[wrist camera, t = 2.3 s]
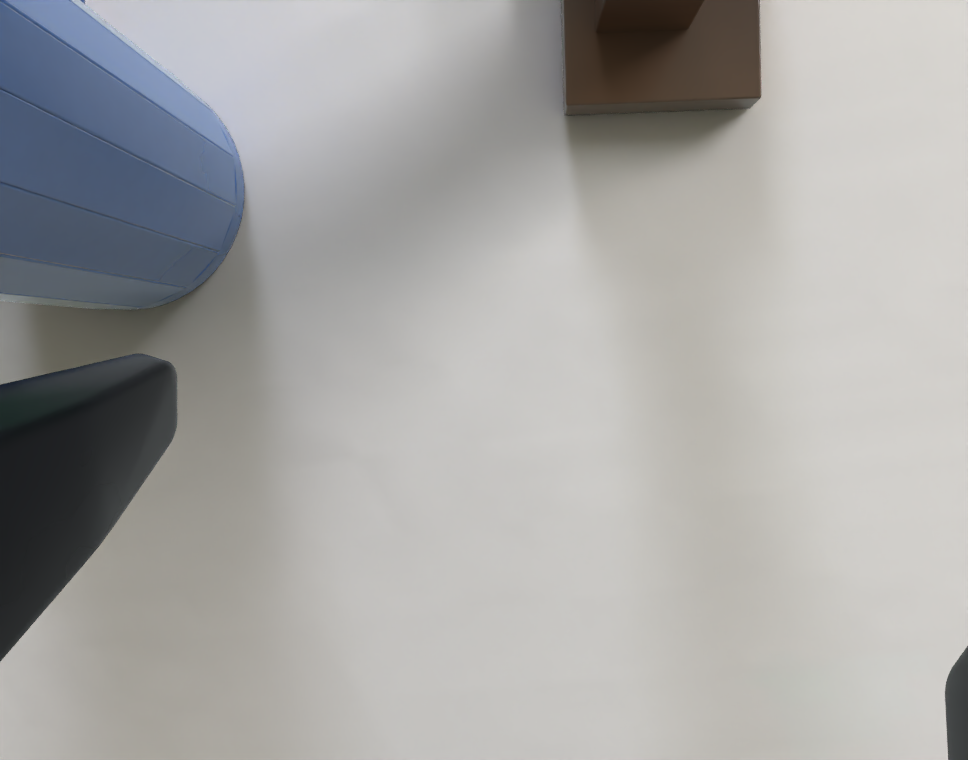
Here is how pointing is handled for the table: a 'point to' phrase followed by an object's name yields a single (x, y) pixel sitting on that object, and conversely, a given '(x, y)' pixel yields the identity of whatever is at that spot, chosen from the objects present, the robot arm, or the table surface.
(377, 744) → the table surface
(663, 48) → the mug rack
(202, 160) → the mug
